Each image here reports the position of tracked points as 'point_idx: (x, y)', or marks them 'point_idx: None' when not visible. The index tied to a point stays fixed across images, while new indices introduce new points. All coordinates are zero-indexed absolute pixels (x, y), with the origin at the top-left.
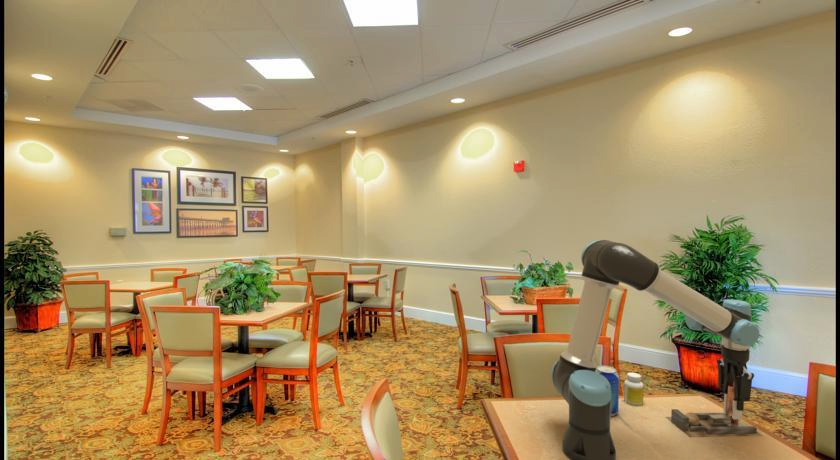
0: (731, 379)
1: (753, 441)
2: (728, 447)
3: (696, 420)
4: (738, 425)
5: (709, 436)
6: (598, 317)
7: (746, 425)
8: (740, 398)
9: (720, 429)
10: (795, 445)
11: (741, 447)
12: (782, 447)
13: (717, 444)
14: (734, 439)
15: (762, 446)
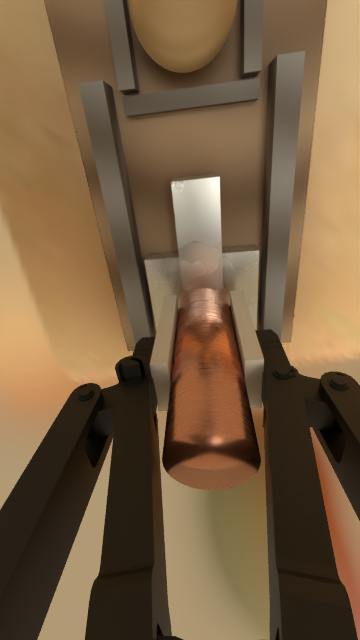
0: (270, 529)
1: (108, 301)
2: (23, 156)
3: (131, 10)
4: None
5: (64, 81)
6: None
7: None
8: (86, 396)
9: (100, 176)
10: None
11: (43, 222)
12: (85, 365)
13: (37, 109)
14: None
15: (75, 309)
